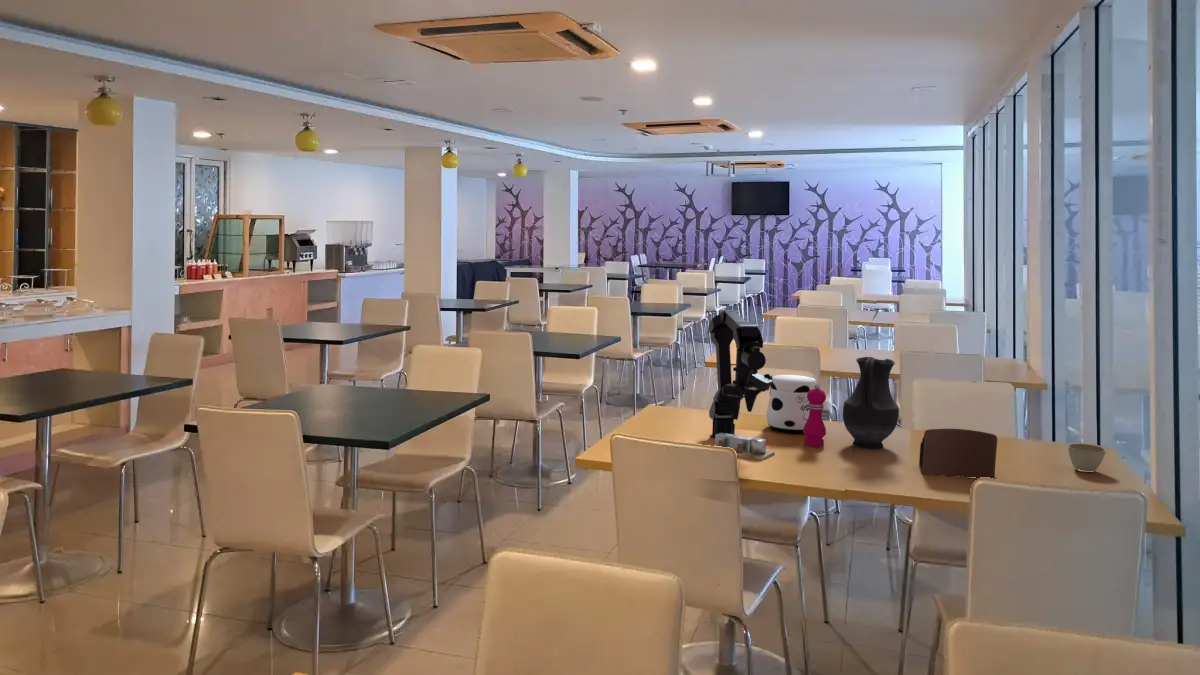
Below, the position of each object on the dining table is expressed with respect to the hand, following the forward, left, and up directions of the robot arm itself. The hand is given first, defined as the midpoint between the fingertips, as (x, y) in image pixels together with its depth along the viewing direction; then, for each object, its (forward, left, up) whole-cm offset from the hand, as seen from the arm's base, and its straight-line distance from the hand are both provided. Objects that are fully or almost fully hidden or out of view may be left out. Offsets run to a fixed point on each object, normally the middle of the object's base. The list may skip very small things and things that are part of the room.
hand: (742, 414), depth 290 cm
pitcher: (+29, +32, -12) cm, 45 cm away
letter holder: (+60, +19, -12) cm, 64 cm away
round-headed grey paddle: (0, -1, -11) cm, 11 cm away
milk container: (-1, +40, -12) cm, 42 cm away
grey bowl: (+90, +47, -12) cm, 102 cm away
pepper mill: (+14, +24, -12) cm, 30 cm away
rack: (0, -1, -12) cm, 12 cm away
